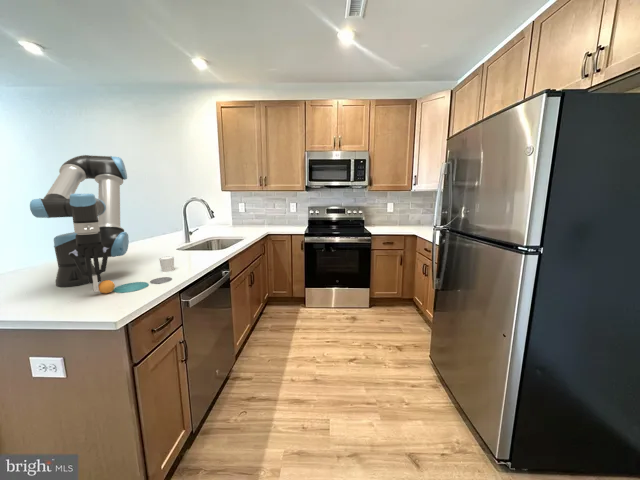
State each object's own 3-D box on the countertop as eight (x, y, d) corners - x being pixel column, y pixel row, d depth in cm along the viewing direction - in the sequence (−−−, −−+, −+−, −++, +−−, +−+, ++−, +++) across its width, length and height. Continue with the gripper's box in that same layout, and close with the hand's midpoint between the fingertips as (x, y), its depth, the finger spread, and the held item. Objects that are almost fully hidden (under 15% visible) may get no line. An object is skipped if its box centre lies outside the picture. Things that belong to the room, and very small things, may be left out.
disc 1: (105, 291, 113) (104, 291, 113) (131, 281, 126) (131, 281, 125) (130, 293, 110) (130, 293, 110) (155, 283, 123) (155, 282, 123)
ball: (91, 287, 108) (101, 276, 110) (101, 290, 113) (111, 279, 115) (100, 294, 107) (111, 282, 109) (111, 297, 112) (120, 285, 114)
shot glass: (164, 268, 146) (163, 256, 145) (177, 268, 147) (176, 256, 146) (158, 272, 140) (156, 259, 138) (171, 272, 140) (170, 259, 139)
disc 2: (145, 283, 123) (145, 282, 123) (160, 277, 132) (160, 276, 132) (162, 284, 122) (161, 284, 122) (176, 278, 130) (176, 277, 130)
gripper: (66, 236, 97) (76, 297, 101) (110, 232, 107) (117, 288, 111) (64, 234, 102) (73, 292, 106) (106, 230, 112) (113, 284, 116)
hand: (96, 290), depth 109 cm, fingers closed
